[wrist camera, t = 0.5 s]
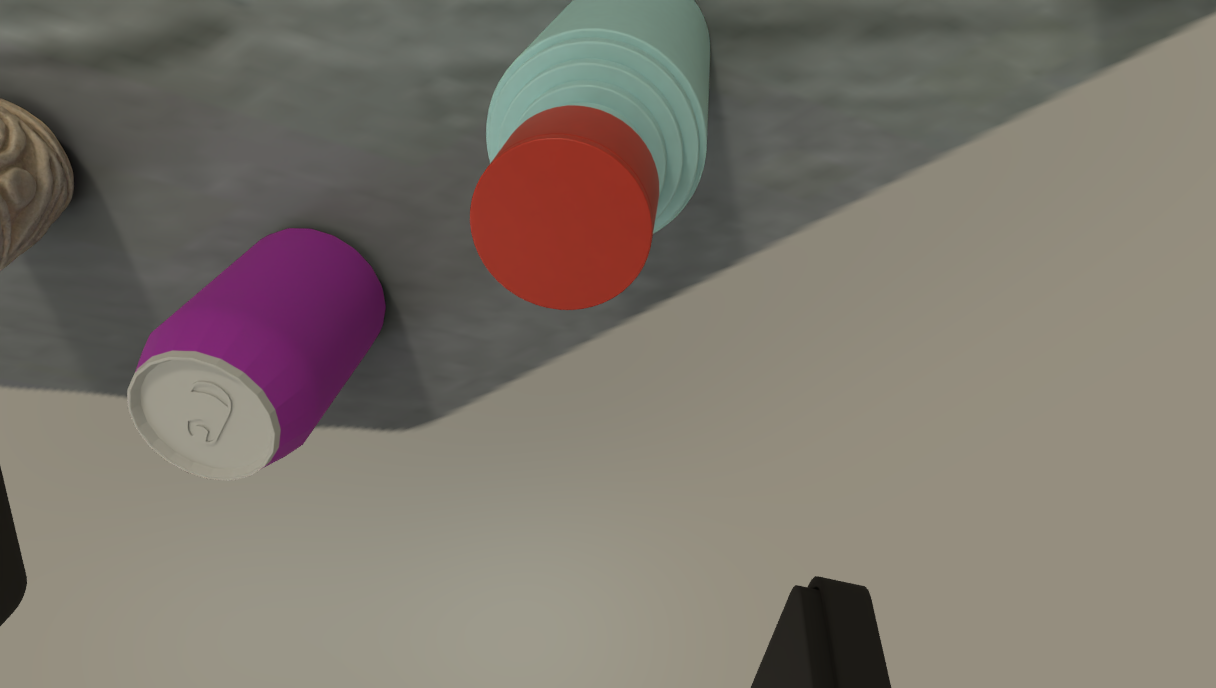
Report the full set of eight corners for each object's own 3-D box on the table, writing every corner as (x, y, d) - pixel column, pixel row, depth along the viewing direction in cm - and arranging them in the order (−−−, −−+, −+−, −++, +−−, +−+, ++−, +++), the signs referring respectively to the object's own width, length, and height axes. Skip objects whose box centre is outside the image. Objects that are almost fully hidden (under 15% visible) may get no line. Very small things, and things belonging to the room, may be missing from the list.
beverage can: (368, 372, 47) (270, 520, 36) (236, 314, 46) (97, 448, 35) (410, 261, 43) (314, 391, 33) (267, 195, 42) (121, 307, 32)
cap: (505, 88, 21) (478, 120, 18) (675, 123, 21) (669, 159, 18) (488, 244, 23) (462, 290, 20) (642, 276, 23) (633, 326, 20)
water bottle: (570, -46, 35) (434, 51, 18) (726, -14, 35) (735, 113, 18) (549, 111, 38) (417, 314, 21) (691, 140, 38) (670, 367, 21)
